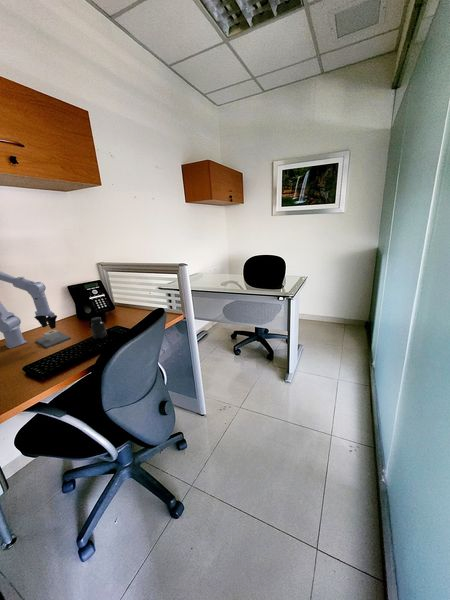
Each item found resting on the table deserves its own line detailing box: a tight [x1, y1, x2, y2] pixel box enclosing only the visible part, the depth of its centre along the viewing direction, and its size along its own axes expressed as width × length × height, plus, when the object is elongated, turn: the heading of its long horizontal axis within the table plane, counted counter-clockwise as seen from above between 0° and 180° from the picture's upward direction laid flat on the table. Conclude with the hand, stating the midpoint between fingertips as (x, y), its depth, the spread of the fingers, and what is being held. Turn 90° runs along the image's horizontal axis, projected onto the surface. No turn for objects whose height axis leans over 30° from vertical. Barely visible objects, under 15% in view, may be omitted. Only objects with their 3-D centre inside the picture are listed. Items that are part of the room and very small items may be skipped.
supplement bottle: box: [90, 316, 108, 339], centre depth 132 cm, size 7×7×12 cm
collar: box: [43, 329, 60, 341], centre depth 135 cm, size 5×5×4 cm
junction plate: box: [35, 331, 71, 349], centre depth 135 cm, size 16×12×5 cm
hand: (49, 327), depth 133 cm, fingers open, 7 cm apart
